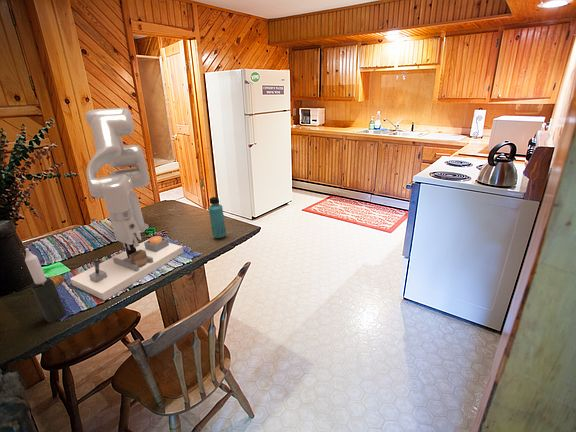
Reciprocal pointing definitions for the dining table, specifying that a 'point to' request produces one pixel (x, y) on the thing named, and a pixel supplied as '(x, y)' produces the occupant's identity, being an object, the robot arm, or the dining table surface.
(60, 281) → the pastry
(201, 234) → the dining table surface
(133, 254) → the slider knob
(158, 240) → the push button
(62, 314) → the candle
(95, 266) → the toggle lever
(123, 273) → the control panel
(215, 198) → the beverage bottle
